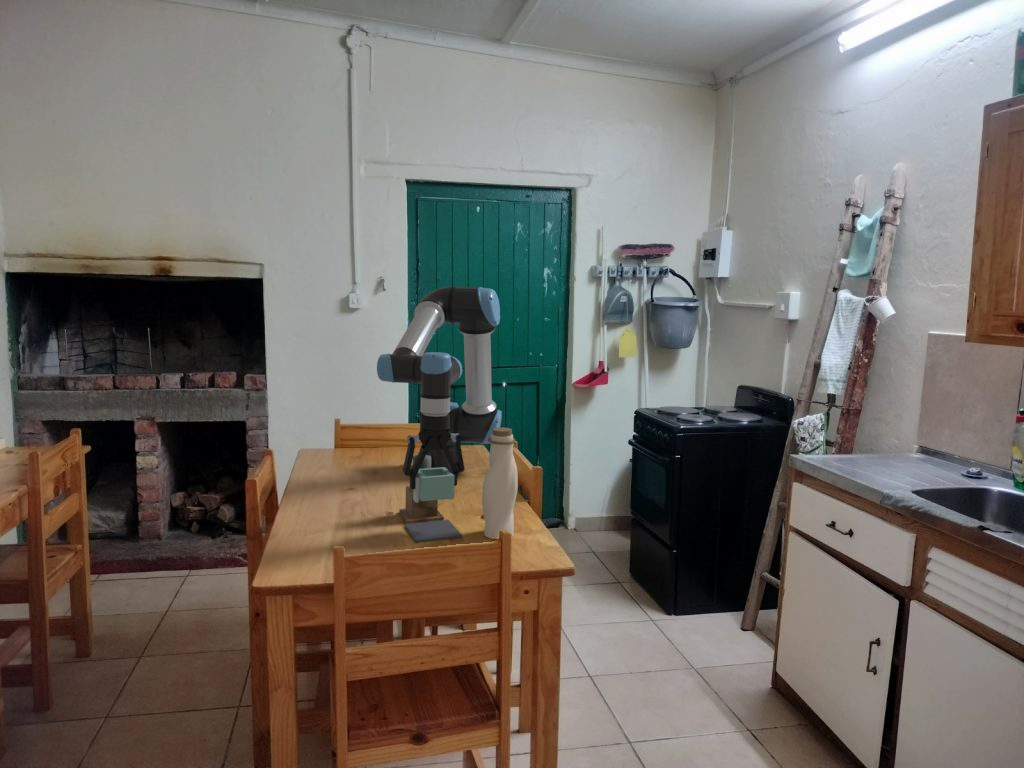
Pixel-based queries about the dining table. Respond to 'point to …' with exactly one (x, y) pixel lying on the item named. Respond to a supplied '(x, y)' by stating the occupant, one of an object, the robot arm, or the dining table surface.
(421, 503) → the stand
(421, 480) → the teal square planter
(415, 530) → the mat
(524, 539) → the dining table surface
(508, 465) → the water bottle
